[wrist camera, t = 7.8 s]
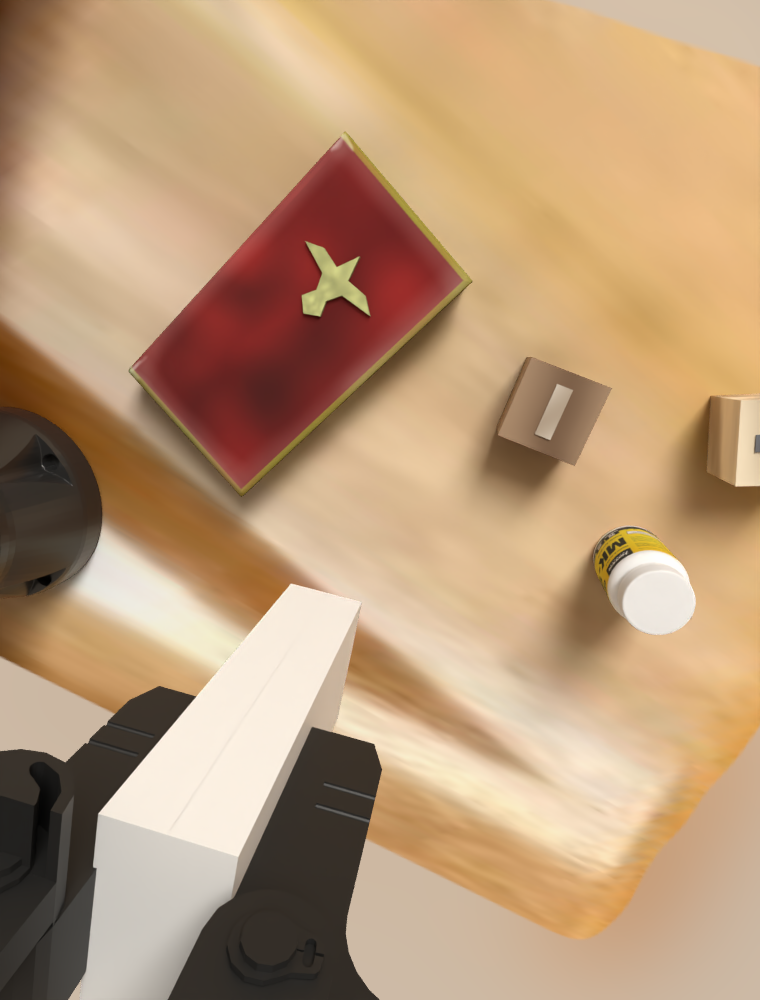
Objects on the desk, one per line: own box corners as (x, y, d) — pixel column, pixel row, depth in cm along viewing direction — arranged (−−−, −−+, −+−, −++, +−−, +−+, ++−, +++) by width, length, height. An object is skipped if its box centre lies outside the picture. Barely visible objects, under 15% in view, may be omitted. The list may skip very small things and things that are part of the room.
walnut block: (496, 426, 42) (498, 435, 38) (526, 357, 41) (531, 357, 36) (564, 453, 42) (574, 466, 37) (597, 384, 41) (612, 388, 36)
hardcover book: (154, 366, 46) (121, 366, 42) (354, 148, 40) (340, 124, 36) (260, 485, 47) (239, 497, 43) (473, 287, 41) (472, 280, 37)
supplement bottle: (606, 515, 42) (634, 551, 34) (674, 536, 42) (718, 578, 34) (581, 577, 44) (603, 626, 36) (647, 598, 43) (684, 653, 35)
